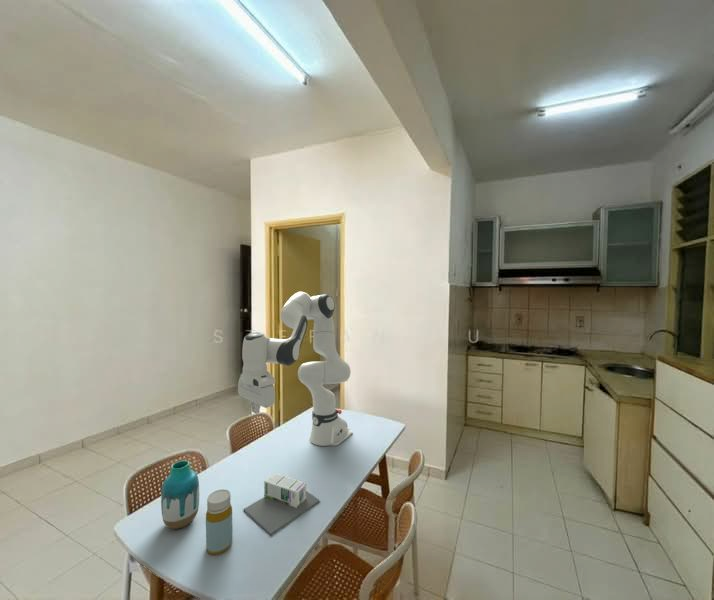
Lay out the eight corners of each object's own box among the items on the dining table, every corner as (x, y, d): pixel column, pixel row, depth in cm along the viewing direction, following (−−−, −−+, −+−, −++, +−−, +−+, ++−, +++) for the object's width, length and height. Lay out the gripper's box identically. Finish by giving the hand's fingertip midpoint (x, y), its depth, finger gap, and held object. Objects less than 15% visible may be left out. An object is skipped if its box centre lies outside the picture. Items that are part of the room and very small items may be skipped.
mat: (291, 482, 120) (291, 481, 120) (319, 501, 110) (319, 500, 110) (243, 510, 105) (243, 508, 105) (270, 535, 95) (270, 533, 95)
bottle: (202, 545, 91) (202, 495, 90) (226, 532, 96) (226, 485, 95) (211, 560, 86) (210, 508, 85) (236, 546, 91) (235, 496, 90)
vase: (156, 539, 93) (155, 477, 92) (167, 514, 103) (166, 458, 102) (195, 531, 96) (194, 471, 95) (202, 508, 106) (201, 453, 105)
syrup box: (263, 480, 111) (297, 492, 105) (274, 472, 117) (307, 482, 110) (263, 496, 111) (296, 509, 105) (274, 487, 117) (306, 498, 111)
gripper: (233, 372, 121) (233, 407, 122) (262, 384, 108) (262, 423, 108) (248, 369, 126) (248, 402, 127) (277, 380, 112) (278, 417, 113)
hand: (255, 412), depth 117 cm, fingers closed
